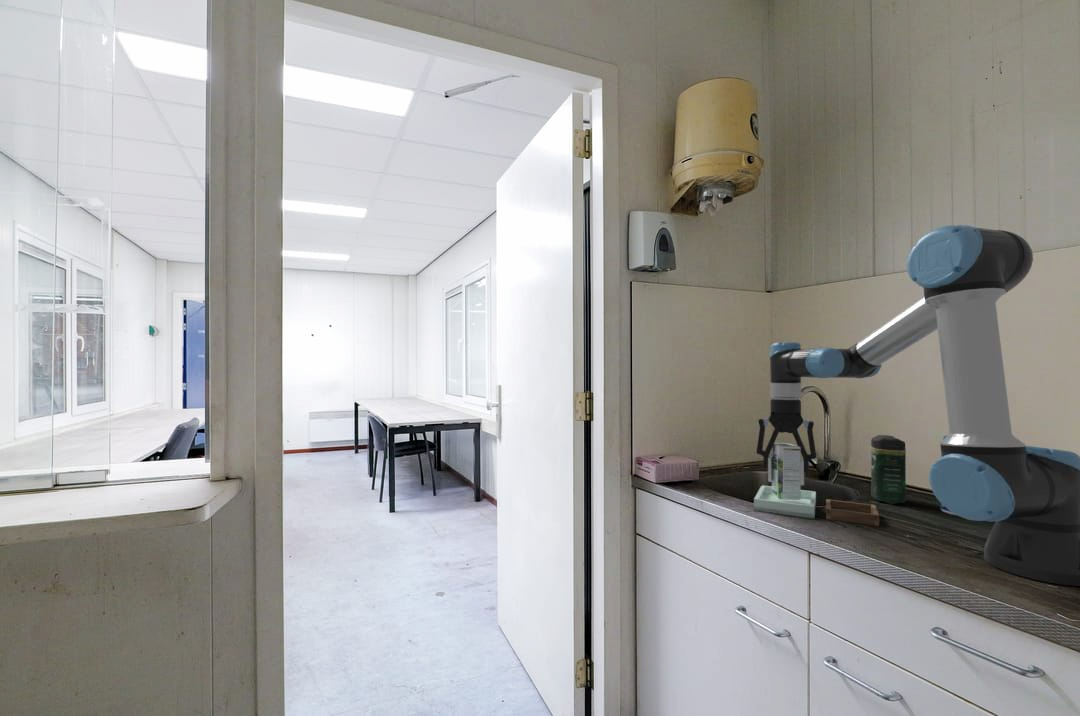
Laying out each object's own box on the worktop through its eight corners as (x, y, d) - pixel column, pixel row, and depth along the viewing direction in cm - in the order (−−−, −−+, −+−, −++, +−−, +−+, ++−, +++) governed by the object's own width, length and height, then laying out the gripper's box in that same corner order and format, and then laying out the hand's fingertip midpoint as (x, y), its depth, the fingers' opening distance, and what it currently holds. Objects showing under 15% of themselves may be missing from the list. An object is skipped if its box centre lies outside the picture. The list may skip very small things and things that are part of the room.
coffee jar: (909, 506, 136) (908, 438, 136) (875, 502, 139) (874, 436, 139) (900, 497, 144) (900, 434, 145) (868, 494, 148) (868, 432, 148)
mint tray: (814, 518, 123) (814, 506, 123) (754, 510, 130) (754, 498, 130) (815, 502, 139) (815, 491, 139) (761, 495, 146) (761, 485, 146)
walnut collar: (879, 526, 118) (879, 515, 118) (826, 518, 123) (826, 508, 123) (875, 514, 127) (875, 504, 127) (826, 508, 133) (826, 499, 133)
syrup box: (771, 494, 137) (770, 442, 138) (793, 495, 137) (792, 442, 137) (779, 499, 132) (778, 445, 132) (802, 500, 131) (801, 445, 132)
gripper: (827, 399, 133) (828, 484, 133) (748, 396, 143) (748, 475, 143) (827, 400, 127) (828, 489, 126) (744, 397, 137) (744, 480, 136)
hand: (786, 482), depth 134 cm, fingers closed on syrup box, 7 cm apart
